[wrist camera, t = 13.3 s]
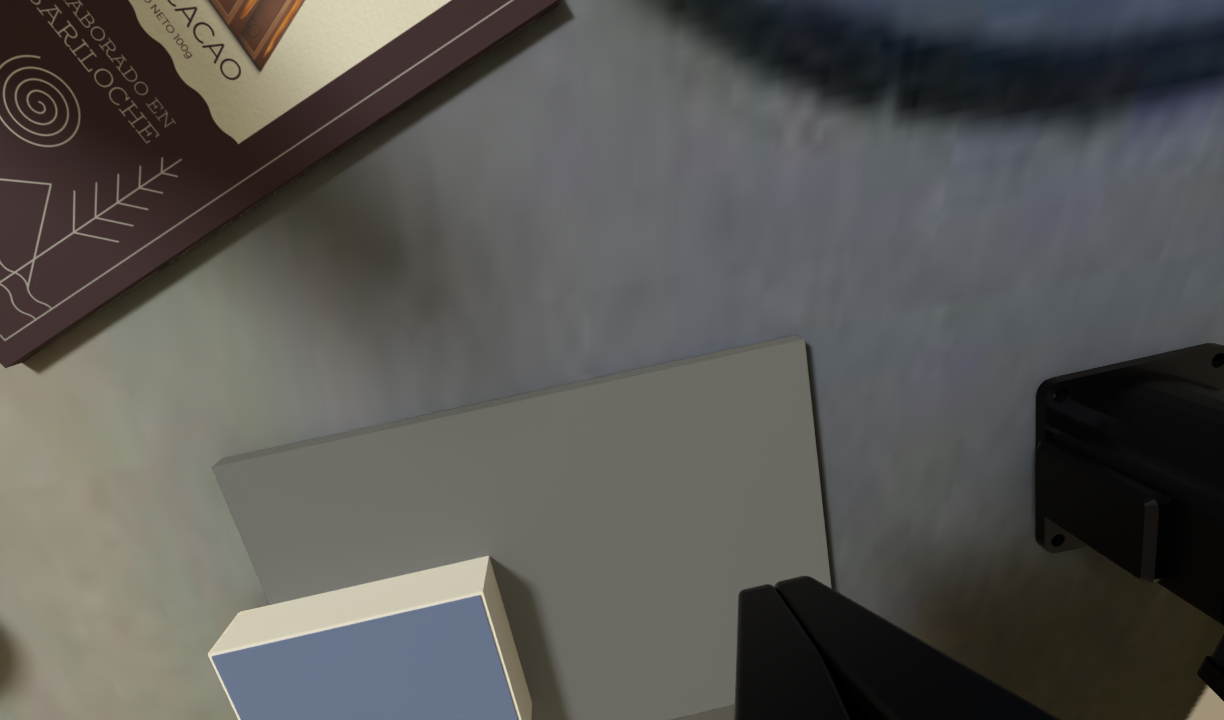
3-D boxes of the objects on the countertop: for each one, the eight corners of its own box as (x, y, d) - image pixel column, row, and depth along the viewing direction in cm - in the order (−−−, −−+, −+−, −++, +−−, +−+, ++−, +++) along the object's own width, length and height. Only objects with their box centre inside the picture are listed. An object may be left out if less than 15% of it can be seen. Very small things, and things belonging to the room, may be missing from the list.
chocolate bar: (-306, 56, 14) (330, -412, 13) (-254, 64, 15) (344, -373, 14) (5, 368, 17) (559, -2, 15) (33, 358, 17) (559, 8, 16)
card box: (529, 749, 19) (279, 809, 19) (532, 702, 21) (302, 756, 21) (482, 592, 18) (206, 655, 17) (489, 555, 19) (238, 612, 19)
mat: (797, 334, 19) (804, 339, 18) (833, 666, 23) (841, 678, 22) (222, 458, 18) (211, 467, 18) (355, 779, 22) (350, 795, 21)
